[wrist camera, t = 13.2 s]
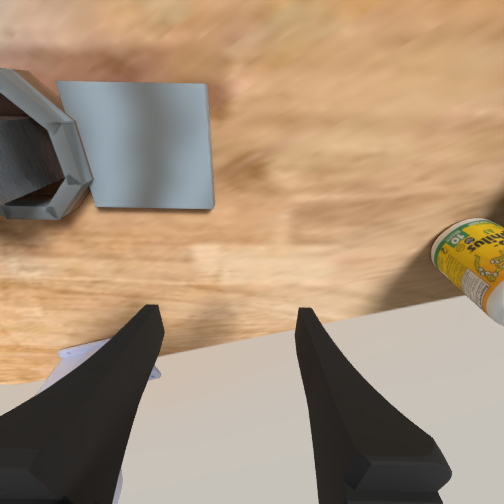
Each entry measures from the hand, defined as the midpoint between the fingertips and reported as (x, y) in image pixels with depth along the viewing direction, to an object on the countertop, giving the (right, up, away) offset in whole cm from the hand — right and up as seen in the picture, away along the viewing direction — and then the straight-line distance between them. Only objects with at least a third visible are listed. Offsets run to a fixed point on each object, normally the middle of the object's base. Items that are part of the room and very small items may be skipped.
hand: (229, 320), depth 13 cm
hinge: (-15, +11, +5) cm, 19 cm away
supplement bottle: (+19, +4, +9) cm, 22 cm away
